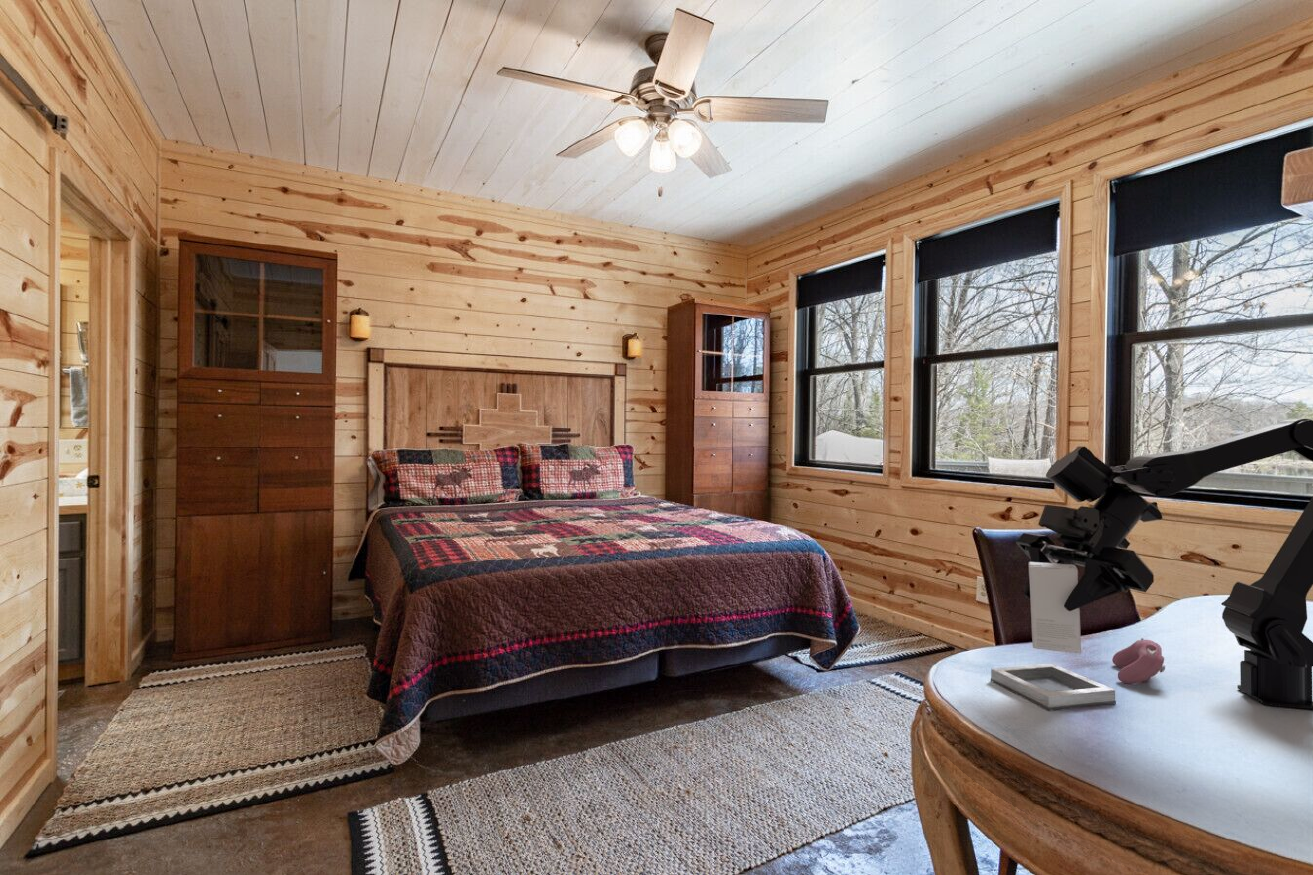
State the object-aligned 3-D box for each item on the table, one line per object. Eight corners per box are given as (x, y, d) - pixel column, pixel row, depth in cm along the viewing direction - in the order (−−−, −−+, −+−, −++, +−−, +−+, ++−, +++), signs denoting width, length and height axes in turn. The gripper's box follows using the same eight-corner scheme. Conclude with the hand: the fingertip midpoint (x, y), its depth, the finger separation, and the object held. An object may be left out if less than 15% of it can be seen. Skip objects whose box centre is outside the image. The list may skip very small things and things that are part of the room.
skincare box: (1078, 646, 93) (1077, 563, 93) (1082, 655, 89) (1080, 568, 89) (1029, 640, 96) (1028, 560, 96) (1030, 649, 92) (1029, 565, 92)
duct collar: (1052, 675, 100) (1051, 663, 100) (1116, 703, 89) (1115, 689, 89) (990, 680, 97) (990, 668, 97) (1048, 710, 87) (1048, 696, 87)
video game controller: (1148, 698, 94) (1175, 660, 93) (1115, 679, 96) (1140, 641, 95) (1139, 677, 103) (1164, 642, 101) (1109, 660, 105) (1132, 625, 103)
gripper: (1025, 482, 102) (966, 554, 100) (1135, 490, 84) (1066, 578, 82) (1067, 529, 104) (1010, 601, 102) (1183, 547, 86) (1117, 635, 83)
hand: (1045, 602), depth 92 cm, fingers closed on skincare box, 7 cm apart
